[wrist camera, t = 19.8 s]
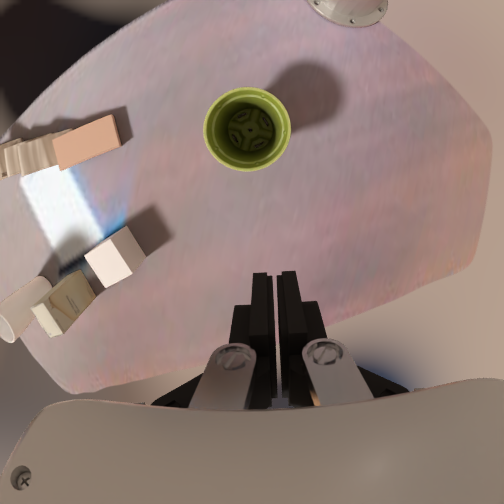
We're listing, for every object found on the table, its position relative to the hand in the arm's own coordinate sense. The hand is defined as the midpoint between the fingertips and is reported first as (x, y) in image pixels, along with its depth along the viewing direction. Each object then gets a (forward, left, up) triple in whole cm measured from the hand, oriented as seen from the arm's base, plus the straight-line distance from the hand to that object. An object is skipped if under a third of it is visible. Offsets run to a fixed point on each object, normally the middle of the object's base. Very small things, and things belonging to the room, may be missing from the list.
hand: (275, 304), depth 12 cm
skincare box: (+38, -4, -31) cm, 49 cm away
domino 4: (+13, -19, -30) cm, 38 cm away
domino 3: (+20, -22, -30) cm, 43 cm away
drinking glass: (+47, -9, -31) cm, 57 cm away
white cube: (+25, -4, -31) cm, 40 cm away
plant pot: (-2, -7, -31) cm, 32 cm away
